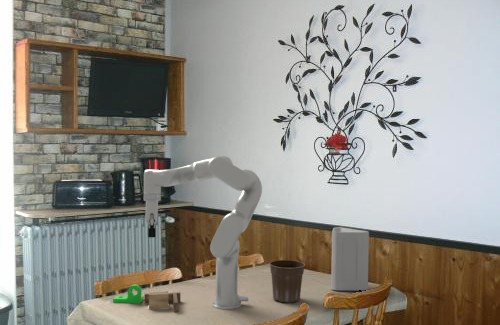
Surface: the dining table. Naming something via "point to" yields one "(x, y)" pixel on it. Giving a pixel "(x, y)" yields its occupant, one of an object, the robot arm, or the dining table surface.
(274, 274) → the plant pot
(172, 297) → the arena
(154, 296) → the block
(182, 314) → the dining table surface
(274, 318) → the dining table surface
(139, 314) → the dining table surface
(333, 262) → the grey tall block
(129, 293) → the mechanical part
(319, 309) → the dining table surface
